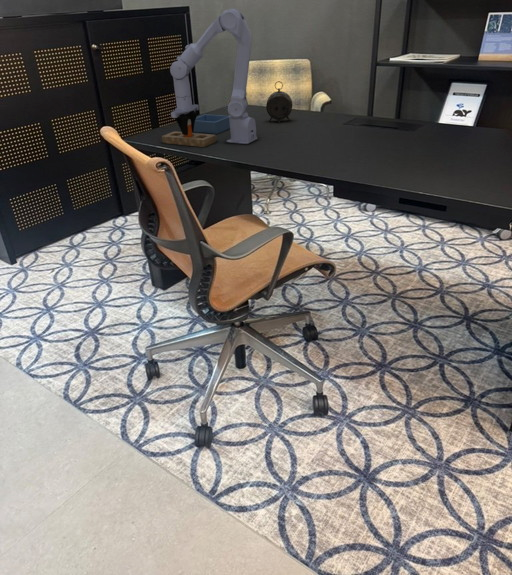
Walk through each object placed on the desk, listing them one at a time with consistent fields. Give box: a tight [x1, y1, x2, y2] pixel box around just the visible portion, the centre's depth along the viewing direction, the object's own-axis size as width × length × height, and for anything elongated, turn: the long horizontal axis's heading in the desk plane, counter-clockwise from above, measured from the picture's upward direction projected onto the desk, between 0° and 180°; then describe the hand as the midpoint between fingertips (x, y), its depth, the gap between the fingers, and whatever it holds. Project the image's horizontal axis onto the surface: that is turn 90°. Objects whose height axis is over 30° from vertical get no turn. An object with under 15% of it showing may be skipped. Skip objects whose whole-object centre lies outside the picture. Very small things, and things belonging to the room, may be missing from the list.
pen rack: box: [161, 130, 217, 148], centre depth 194 cm, size 20×8×3 cm, turn 60°
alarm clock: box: [265, 81, 293, 123], centre depth 211 cm, size 11×5×16 cm, turn 84°
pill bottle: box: [184, 119, 193, 137], centre depth 192 cm, size 3×3×8 cm
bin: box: [193, 113, 230, 135], centre depth 209 cm, size 14×12×5 cm
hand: (188, 133), depth 193 cm, fingers closed on pill bottle, 3 cm apart
